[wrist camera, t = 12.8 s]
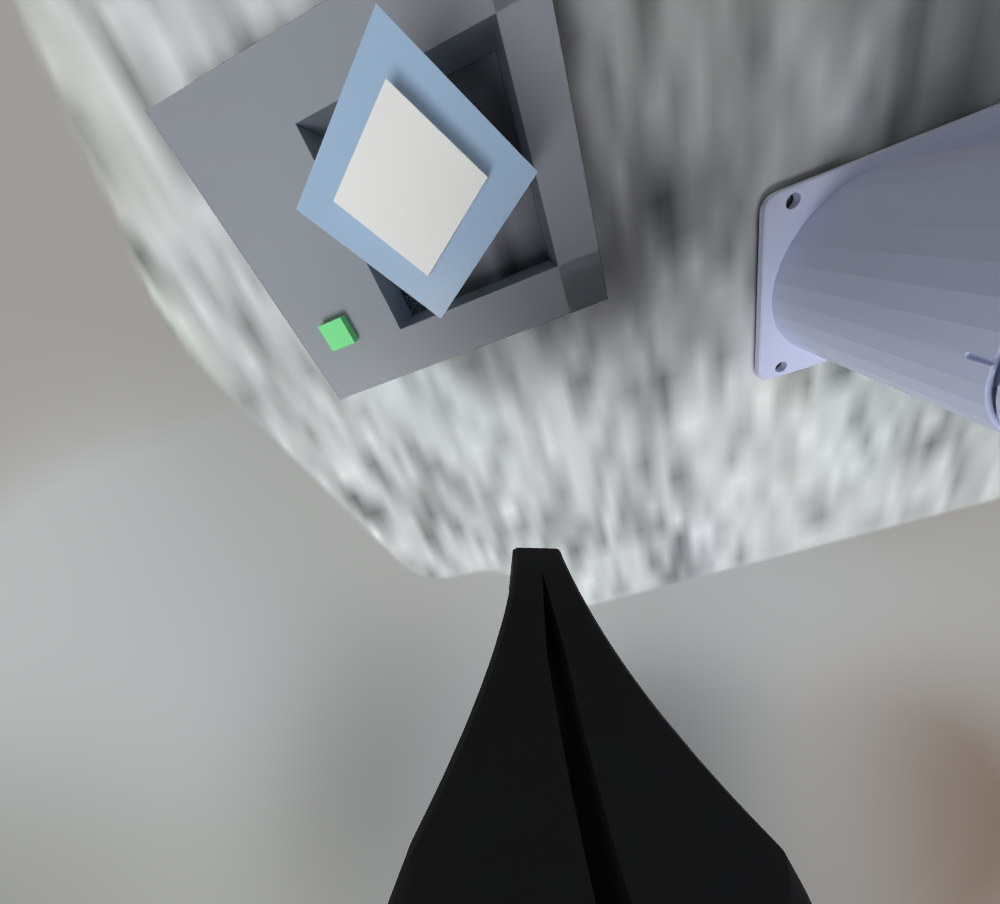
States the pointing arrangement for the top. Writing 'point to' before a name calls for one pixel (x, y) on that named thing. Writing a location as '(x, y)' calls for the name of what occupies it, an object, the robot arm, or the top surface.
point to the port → (295, 144)
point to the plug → (412, 170)
